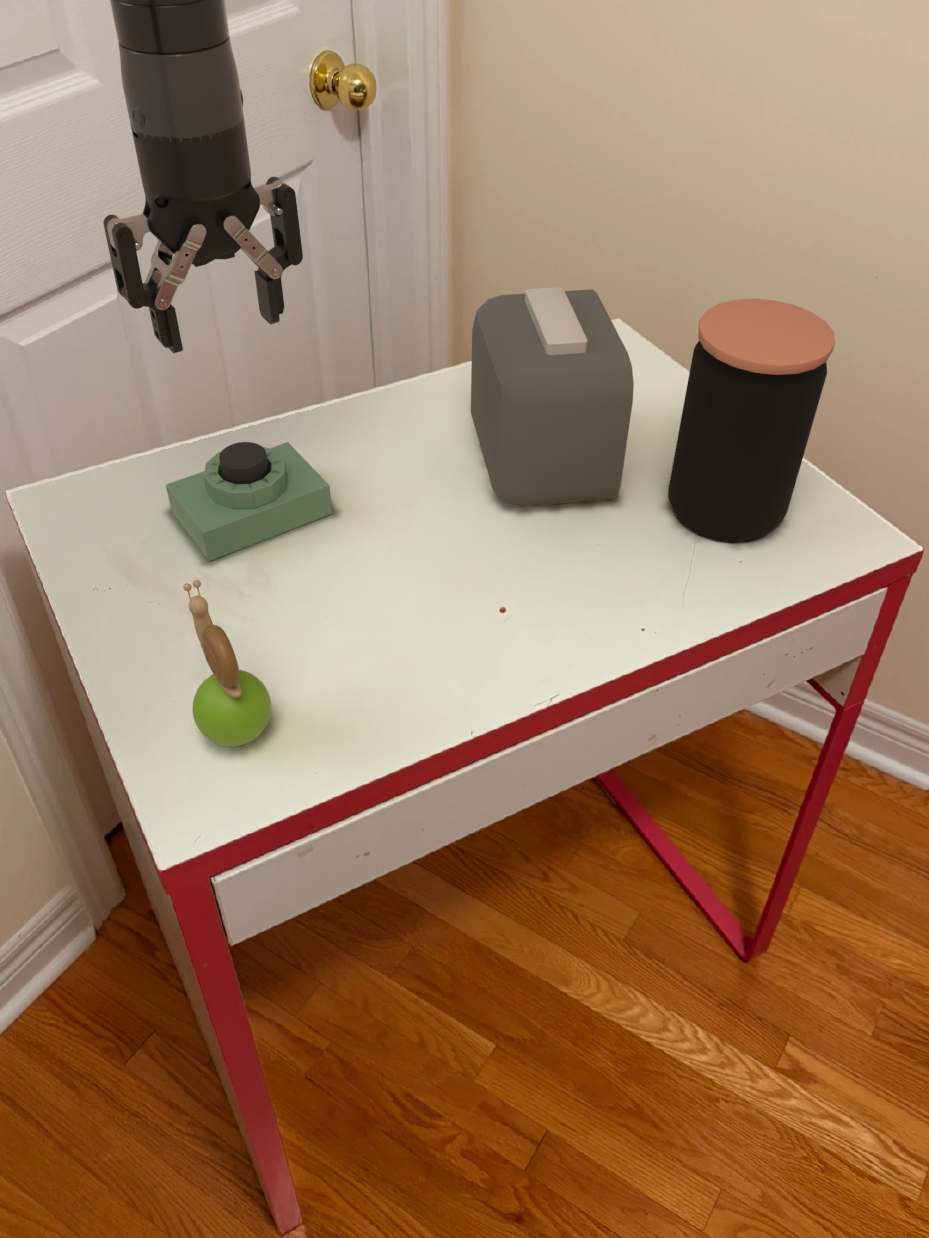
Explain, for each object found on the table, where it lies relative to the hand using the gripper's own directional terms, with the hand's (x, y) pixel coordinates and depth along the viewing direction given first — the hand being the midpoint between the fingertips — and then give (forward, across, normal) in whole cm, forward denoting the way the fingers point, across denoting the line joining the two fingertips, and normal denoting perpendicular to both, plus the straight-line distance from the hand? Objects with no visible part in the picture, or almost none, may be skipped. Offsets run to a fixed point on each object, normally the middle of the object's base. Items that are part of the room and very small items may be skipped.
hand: (222, 333), depth 82 cm
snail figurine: (+18, +12, +22) cm, 31 cm away
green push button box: (+18, 0, 0) cm, 18 cm away
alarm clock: (+18, -26, +8) cm, 33 cm away
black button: (+13, 0, 0) cm, 13 cm away
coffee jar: (+18, -36, +23) cm, 46 cm away
